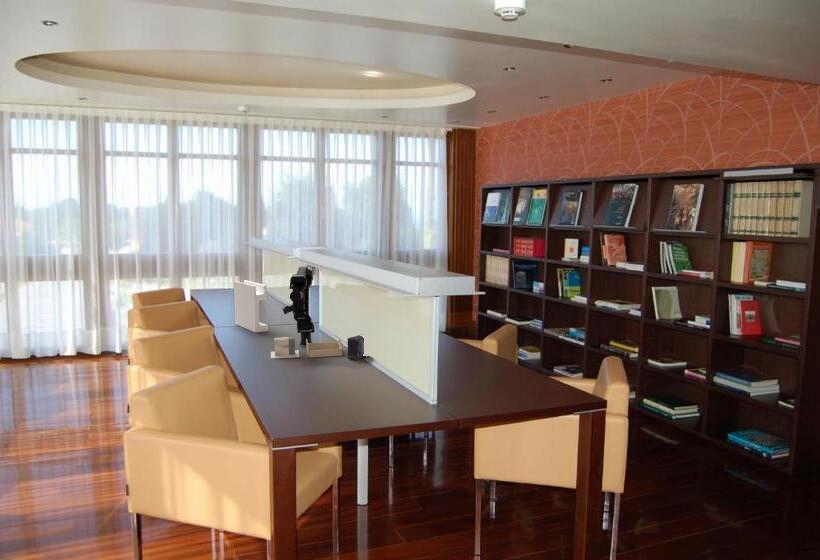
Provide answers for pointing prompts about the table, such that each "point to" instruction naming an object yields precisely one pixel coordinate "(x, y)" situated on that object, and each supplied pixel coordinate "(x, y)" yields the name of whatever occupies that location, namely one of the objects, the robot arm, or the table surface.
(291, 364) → the table surface
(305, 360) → the table surface
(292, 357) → the white square tile
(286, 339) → the block
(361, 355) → the small box
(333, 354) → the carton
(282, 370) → the table surface
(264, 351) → the table surface
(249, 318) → the block
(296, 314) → the robot arm
